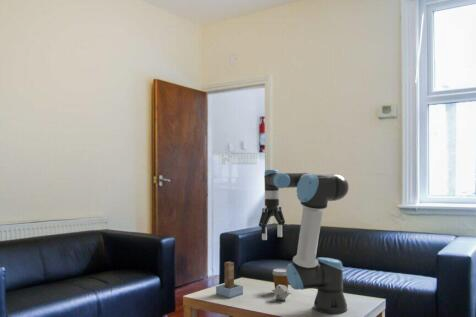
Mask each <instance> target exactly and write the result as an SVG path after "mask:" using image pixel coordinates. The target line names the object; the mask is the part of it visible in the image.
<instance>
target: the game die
mask: <svg viewBox="0 0 476 317" xmlns="http://www.w3.org/2000/svg"><path fill="white" fill-rule="evenodd" d="M277 284H278V283H277ZM271 291H272V292H273V294H274V296H275V301H277V300H281V301H284V302H286V299H288V296H289V295H291V294H292V293H290V292H289V288H288V289H287V284H286V285H279V284H278V285H277V287H276V288H275V287H274V288H273V289H272V290H271Z"/></svg>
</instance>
